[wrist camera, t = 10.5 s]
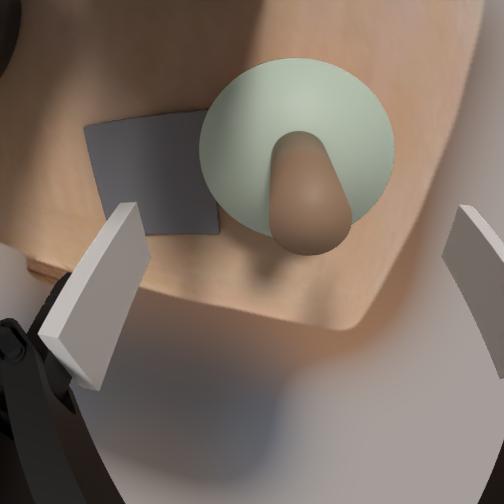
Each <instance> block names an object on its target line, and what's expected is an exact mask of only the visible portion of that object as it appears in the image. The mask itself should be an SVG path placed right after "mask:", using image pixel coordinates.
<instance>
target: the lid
mask: <svg viewBox="0 0 504 504" xmlns="http://www.w3.org/2000/svg"><path fill="white" fill-rule="evenodd" d="M394 152H395V149H394V137H393V132H392V127H391V124H390V122H389V119H388V116H387V114H386V112H385V110H384V108H383V106H382V104H381V103H380V101H379V100H378V99H377V97H376V96H375V95H374V93H373V92H372V91H371V90H370V89H369V88H368V87H367V86H366V85H365V84H364V83H363V82H361V81H360V80H359V79H358V78H356V77H355V76H354V75H352V74H350V73H348V72H347V71H345V70H343V69H341V68H339V67H336V66H334V65H331V64H329V63H326V62H322V61H318V60H314V59H307V58H283V59H277V60H272V61H268V62H265V63H262V64H259V65H257V66H255V67H253V68H251V69H249V70H247V71H245V72H244V73H242V74H241V75H239V76H238V77H237V78H235V79H234V80H233V81H232V82H231V83H230V84H228V85H227V86H226V87H225V88H224V89H223V90H222V91H221V93H220V94H219V95H218V96H217V98H216V99H215V100H214V102H213V104H212V105H211V107H210V109H209V110H208V113H207V115H206V117H205V120H204V122H203V126H202V130H201V134H200V143H199V157H200V164H201V169H202V173H203V176H204V179H205V182H206V184H207V186H208V188H209V190H210V192H211V193H212V195H213V197H214V198H215V200H216V201H217V202H218V203H219V205H220V206H221V207H222V208H223V209H224V210H225V211H226V212H227V213H228V214H229V215H230V216H231V217H232V218H234V219H235V220H236V221H238V222H239V223H241V224H242V225H244V226H246V227H248V228H249V229H251V230H253V231H256V232H258V233H261V234H263V235H267V236H270V237H273V238H274V239H275V240H276V242H277V243H278V244H279V245H280V246H282V247H283V248H284V249H286V250H288V251H290V252H292V253H295V254H299V255H308V256H309V255H319V254H323V253H325V252H328V251H330V250H332V249H334V248H335V247H337V246H338V245H339V244H340V243H341V242H342V241H343V240H344V239H345V238H346V236H347V235H348V233H349V231H350V228H351V225H352V224H353V223H355V222H356V221H358V220H359V219H360V218H362V217H363V216H364V215H365V214H366V213H367V212H368V211H369V210H370V209H371V208H372V207H373V206H374V205H375V204H376V202H377V201H378V199H379V198H380V197H381V195H382V193H383V192H384V190H385V188H386V186H387V184H388V181H389V178H390V176H391V172H392V168H393V163H394Z"/></svg>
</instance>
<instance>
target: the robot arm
mask: <svg viewBox="0 0 504 504" xmlns="http://www.w3.org/2000/svg"><path fill="white" fill-rule="evenodd" d="M19 23H20V0H0V76H1V75H2V73H3V71H4V70H5V68H6V66H7V64H8V62H9V60H10V57H11V55H12V52H13V49H14V46H15V43H16V39H17V35H18V30H19ZM442 258H443V260H444V262H445V264H446V265H447V267H448V269H449V271H450V272H451V274H452V276H453V278H454V279H455V282H456V283H457V285H458V287H459V289H460V291H461V293H462V295H463V297H464V299H465V301H466V303H467V305H468V307H469V309H470V311H471V313H472V315H473V317H474V319H475V321H476V323H477V326H478V328H479V330H480V332H481V334H482V337H483V339H484V341H485V343H486V346H487V348H488V350H489V353H490V355H491V358H492V360H493V363H494V365H495V368H496V370H497V373H498V375H499V378H500V379H502V378H504V244H503V243H502V241H501V240H500V239H499V237H498V236H497V235H496V234H495V233H494V231H493V230H492V229H491V227H489V225H488V224H487V223H486V221H485V220H484V219H483V218H482V217H481V216H480V214H479V213H478V212H477V211H476V210H475V209H474V207H473V206H468V205H459V207H458V209H457V213H456V216H455V219H454V222H453V225H452V228H451V231H450V234H449V237H448V240H447V243H446V246H445V248H444V251H443V254H442ZM150 259H151V254H150V250H149V246H148V243H147V239H146V236H145V232H144V228H143V224H142V220H141V217H140V213H139V209H138V205H137V202H129V203H120V204H119V205H118V206H117V208H116V209H115V211H114V212H113V213H112V215H111V216H110V217H109V219H108V220H107V222H106V223H105V224H104V226H103V227H102V229H101V230H100V232H99V233H98V235H97V236H96V237H95V239H94V240H93V242H92V243H91V245H90V246H89V248H88V249H87V251H86V252H85V254H84V255H83V257H82V259H81V260H80V262H79V263H78V265H77V266H76V268H75V270H74V271H73V273H69V272H67V273H66V274H65V275H64V276H63V277H62V278H61V279H60V280H59V281H57V283H56V284H55V286H54V287H53V289H52V291H51V293H50V296H48V297H47V299H46V301H45V305H43V306H42V307H41V310H40V311H39V313H38V314H37V316H36V318H35V320H34V322H33V324H32V325H31V327H30V329H29V331H28V332H27V334H26V333H25V332H24V330H23V329H22V328H21V326H20V325H19V323H18V322H17V321H16V320H14V319H13V318H12V319H11V318H6V319H4V320H1V321H0V504H125V502H124V501H123V499H122V497H121V495H120V494H119V492H118V490H117V488H116V486H115V485H114V483H113V481H112V479H111V478H110V475H109V473H108V471H107V470H106V468H105V466H104V464H103V462H102V460H101V457H100V456H99V453H98V451H97V449H96V447H95V445H94V443H93V440H92V438H91V436H90V434H89V432H88V429H87V427H86V424H85V422H84V420H83V417H82V415H81V412H80V410H79V407H78V404H77V402H76V399H75V396H74V394H73V391H72V390H71V388H70V387H69V384H70V381H71V379H72V378H73V380H74V381H75V382H76V383H77V384H78V385H79V386H80V387H82V388H86V389H91V390H96V391H100V388H101V385H102V382H103V379H104V376H105V373H106V370H107V367H108V364H109V362H110V359H111V356H112V353H113V351H114V348H115V345H116V342H117V340H118V337H119V334H120V332H121V329H122V327H123V324H124V321H125V319H126V316H127V314H128V311H129V308H130V306H131V304H132V301H133V299H134V296H135V294H136V292H137V289H138V287H139V284H140V282H141V280H142V277H143V275H144V273H145V270H146V268H147V266H148V264H149V261H150ZM478 504H504V441H503V444H502V447H501V450H500V452H499V455H498V458H497V460H496V463H495V466H494V468H493V470H492V473H491V475H490V478H489V480H488V482H487V485H486V487H485V489H484V491H483V493H482V496H481V498H480V500H479V502H478Z"/></svg>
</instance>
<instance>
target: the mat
mask: <svg viewBox="0 0 504 504" xmlns="http://www.w3.org/2000/svg"><path fill="white" fill-rule="evenodd" d="M207 113H208V110H198V111H186V112H175V113H166V114H157V115H149V116H142V117H135V118H128V119H122V120H115V121H110V122H104V123H99V124H93V125H88V126H85V127H84V128H83V129H84V134H85V138H86V143H87V147H88V152H89V156H90V161H91V165H92V169H93V173H94V177H95V181H96V185H97V188H98V192H99V196H100V199H101V203H102V206H103V210H104V213H105V217H106V220H108V219H109V217H110V216H111V215H112V213H113V212H114V211H115V209H116V208H117V206H118V205H119V204H120V203H129V202H137V205H138V209H139V213H140V217H141V220H142V224H143V228H144V232H145V234H220V223H219V214H218V204H217V201H216V200H215V198H214V197H213V195H212V193H211V192H210V190H209V188H208V186H207V184H206V182H205V179H204V176H203V173H202V169H201V164H200V157H199V143H200V134H201V130H202V126H203V122H204V120H205V117H206V115H207Z"/></svg>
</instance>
